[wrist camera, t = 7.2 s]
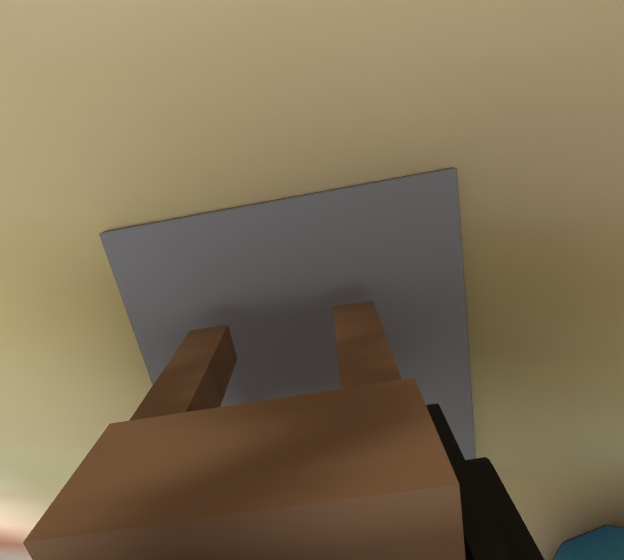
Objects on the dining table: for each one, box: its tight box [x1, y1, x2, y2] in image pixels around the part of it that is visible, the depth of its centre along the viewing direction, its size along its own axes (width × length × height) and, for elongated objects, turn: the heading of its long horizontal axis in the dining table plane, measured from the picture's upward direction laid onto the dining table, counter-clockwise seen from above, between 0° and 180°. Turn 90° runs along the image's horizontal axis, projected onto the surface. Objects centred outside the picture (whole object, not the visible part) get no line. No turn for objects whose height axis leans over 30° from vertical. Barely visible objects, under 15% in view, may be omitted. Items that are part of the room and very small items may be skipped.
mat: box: [99, 168, 476, 460], centre depth 15 cm, size 12×12×1 cm
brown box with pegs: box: [23, 300, 466, 560], centre depth 10 cm, size 6×6×7 cm
